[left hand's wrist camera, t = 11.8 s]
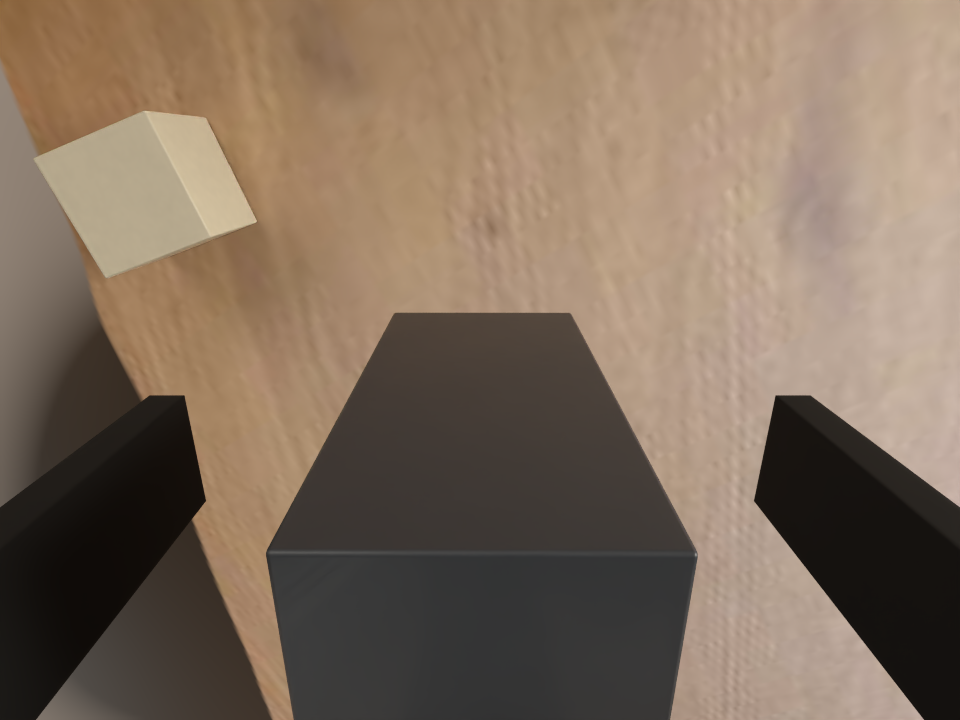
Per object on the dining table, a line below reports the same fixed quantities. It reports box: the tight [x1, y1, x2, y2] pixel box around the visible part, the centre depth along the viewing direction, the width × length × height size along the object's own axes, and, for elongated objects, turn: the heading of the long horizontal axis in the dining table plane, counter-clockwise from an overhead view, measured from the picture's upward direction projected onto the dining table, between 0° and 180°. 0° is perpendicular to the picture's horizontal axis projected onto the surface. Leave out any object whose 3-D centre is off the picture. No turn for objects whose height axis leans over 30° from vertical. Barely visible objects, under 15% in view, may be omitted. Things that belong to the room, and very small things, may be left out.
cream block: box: [34, 111, 257, 278], centre depth 24 cm, size 5×5×5 cm
